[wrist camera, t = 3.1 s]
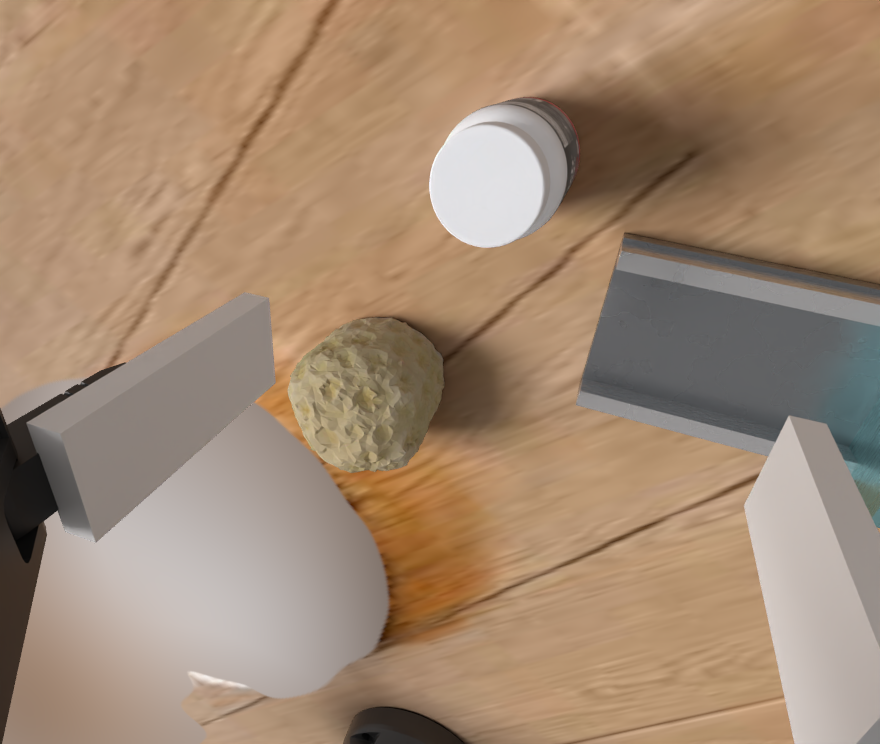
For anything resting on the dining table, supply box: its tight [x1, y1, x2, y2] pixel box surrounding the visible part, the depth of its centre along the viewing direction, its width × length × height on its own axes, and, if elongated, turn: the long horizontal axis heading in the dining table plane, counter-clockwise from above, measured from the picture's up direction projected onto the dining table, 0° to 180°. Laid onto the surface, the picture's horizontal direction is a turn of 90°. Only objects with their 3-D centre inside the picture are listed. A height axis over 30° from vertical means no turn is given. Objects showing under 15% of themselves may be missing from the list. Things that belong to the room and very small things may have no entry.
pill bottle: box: [429, 97, 580, 248], centre depth 26 cm, size 6×6×10 cm
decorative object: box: [288, 317, 445, 473], centre depth 38 cm, size 9×10×10 cm
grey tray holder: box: [576, 233, 880, 528], centre depth 29 cm, size 16×10×6 cm, turn 83°
